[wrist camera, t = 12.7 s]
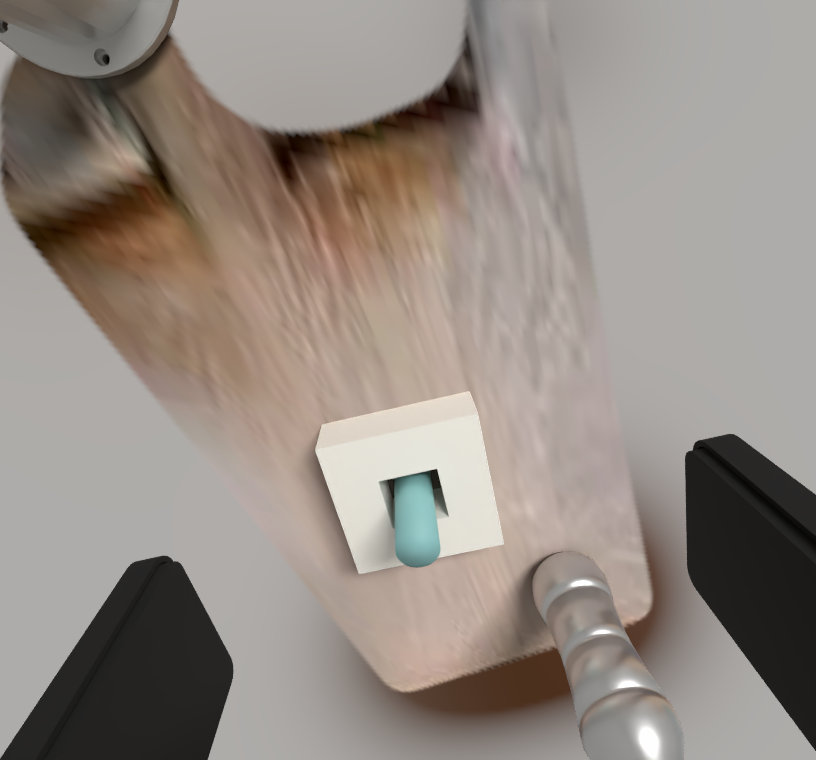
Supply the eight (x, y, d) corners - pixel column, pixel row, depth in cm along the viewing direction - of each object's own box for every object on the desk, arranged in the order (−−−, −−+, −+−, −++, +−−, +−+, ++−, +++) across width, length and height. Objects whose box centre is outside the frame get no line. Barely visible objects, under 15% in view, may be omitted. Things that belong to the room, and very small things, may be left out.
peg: (390, 459, 41) (390, 536, 32) (425, 451, 41) (435, 527, 32) (398, 488, 42) (401, 571, 33) (433, 481, 42) (444, 562, 33)
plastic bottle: (611, 560, 46) (759, 819, 27) (563, 606, 48) (672, 877, 29) (558, 530, 44) (678, 783, 26) (511, 579, 46) (591, 846, 28)
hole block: (322, 424, 40) (315, 449, 36) (469, 390, 39) (477, 413, 35) (361, 540, 44) (359, 574, 40) (494, 512, 43) (504, 544, 40)
